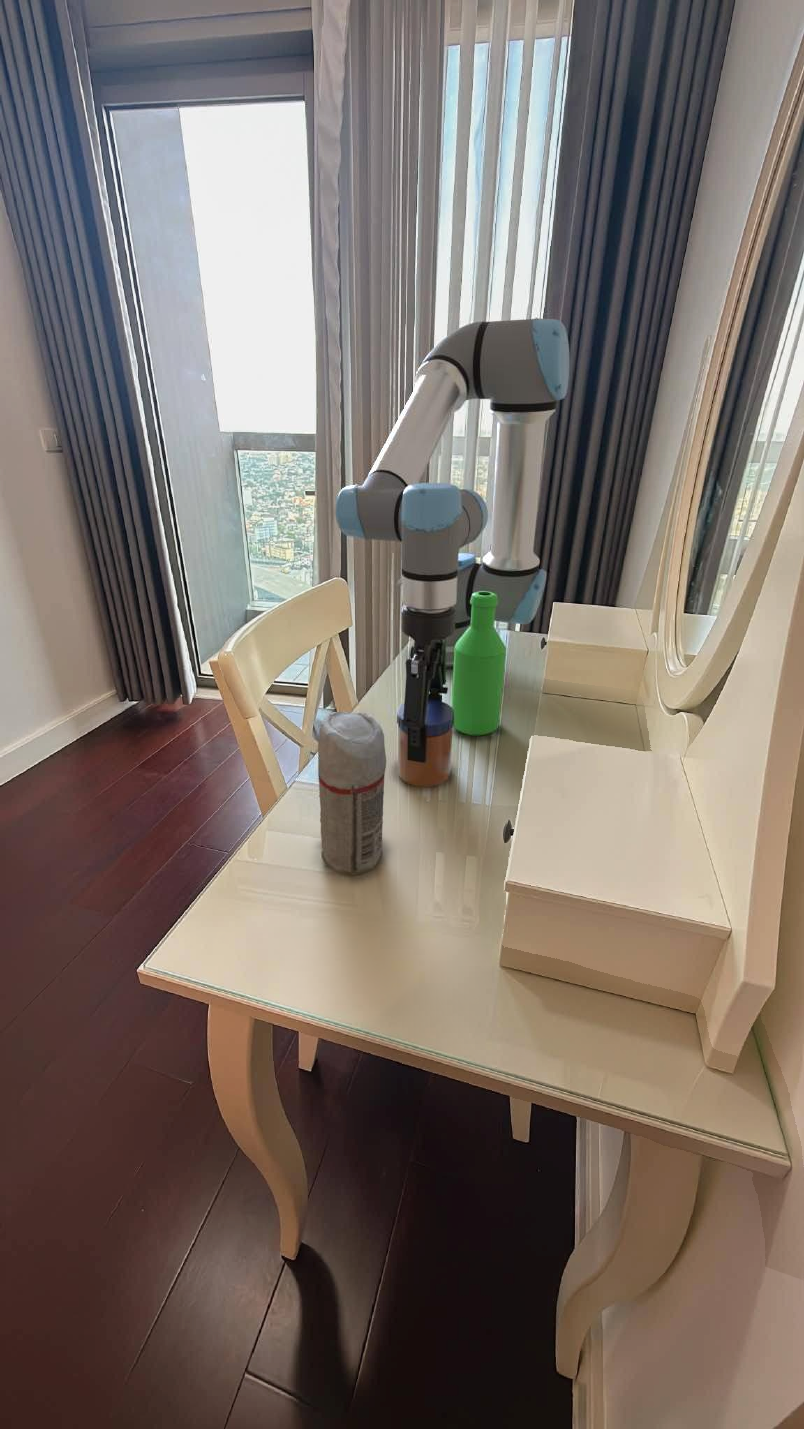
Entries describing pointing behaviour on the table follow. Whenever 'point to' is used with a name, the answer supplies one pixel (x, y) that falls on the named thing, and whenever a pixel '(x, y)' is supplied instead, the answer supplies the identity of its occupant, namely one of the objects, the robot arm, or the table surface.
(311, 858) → the table surface
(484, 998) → the table surface
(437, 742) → the jar
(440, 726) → the lid
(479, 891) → the table surface
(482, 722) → the bottle
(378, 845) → the spray can
